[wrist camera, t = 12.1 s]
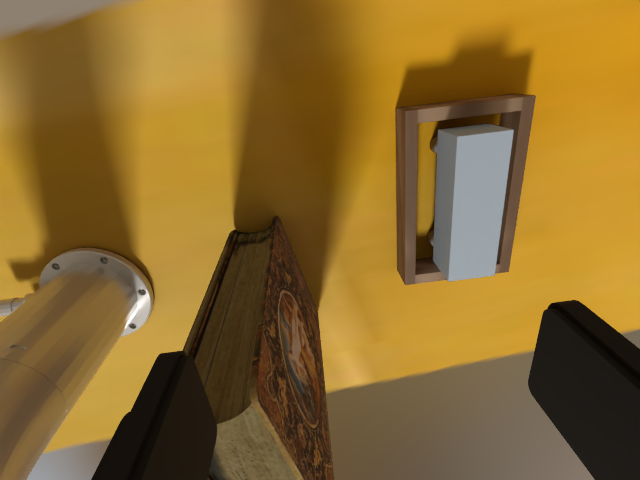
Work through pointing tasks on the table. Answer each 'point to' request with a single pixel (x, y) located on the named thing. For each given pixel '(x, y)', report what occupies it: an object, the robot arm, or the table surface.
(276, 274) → the book
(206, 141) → the table surface
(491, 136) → the grey rectangular block
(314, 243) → the table surface
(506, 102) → the frame
